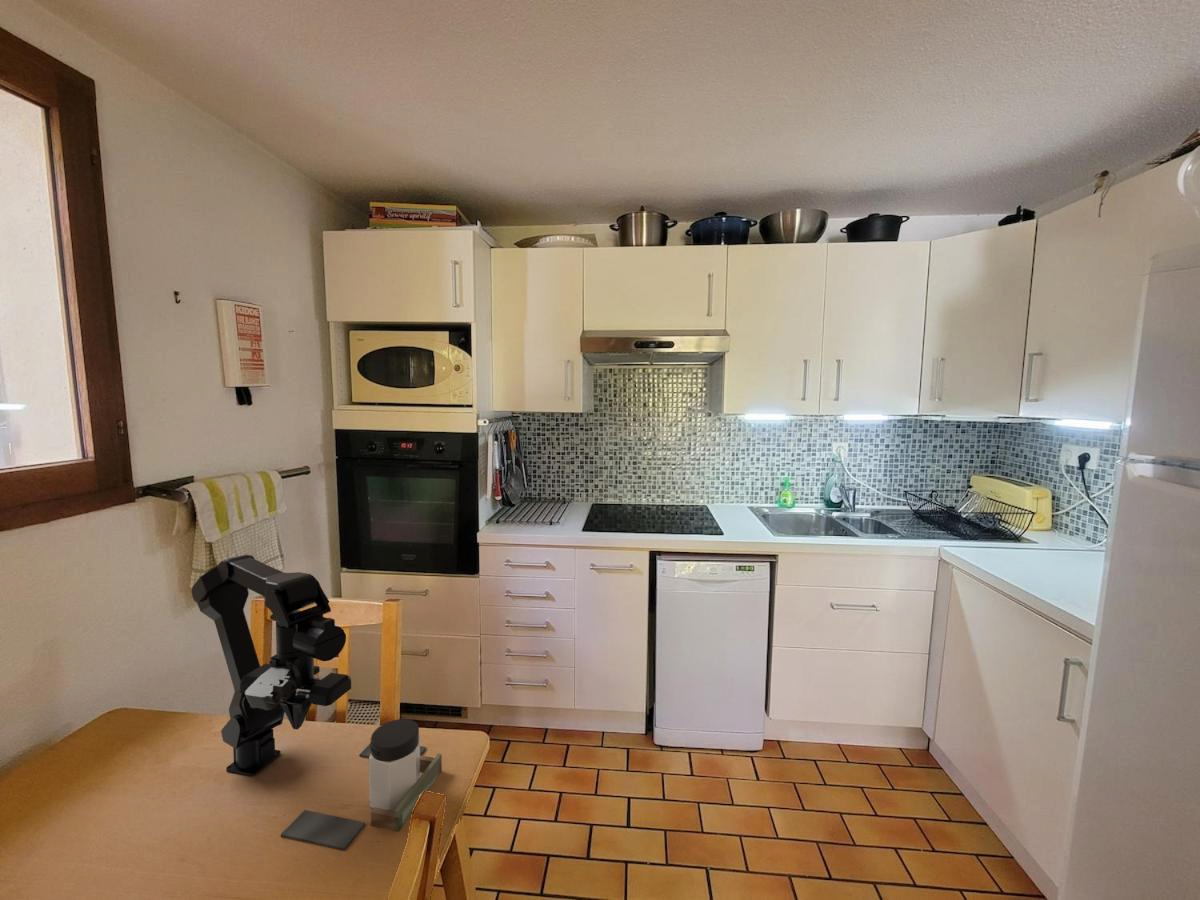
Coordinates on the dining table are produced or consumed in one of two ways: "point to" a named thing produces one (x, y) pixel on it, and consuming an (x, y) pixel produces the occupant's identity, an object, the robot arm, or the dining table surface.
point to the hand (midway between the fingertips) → (297, 727)
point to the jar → (393, 763)
